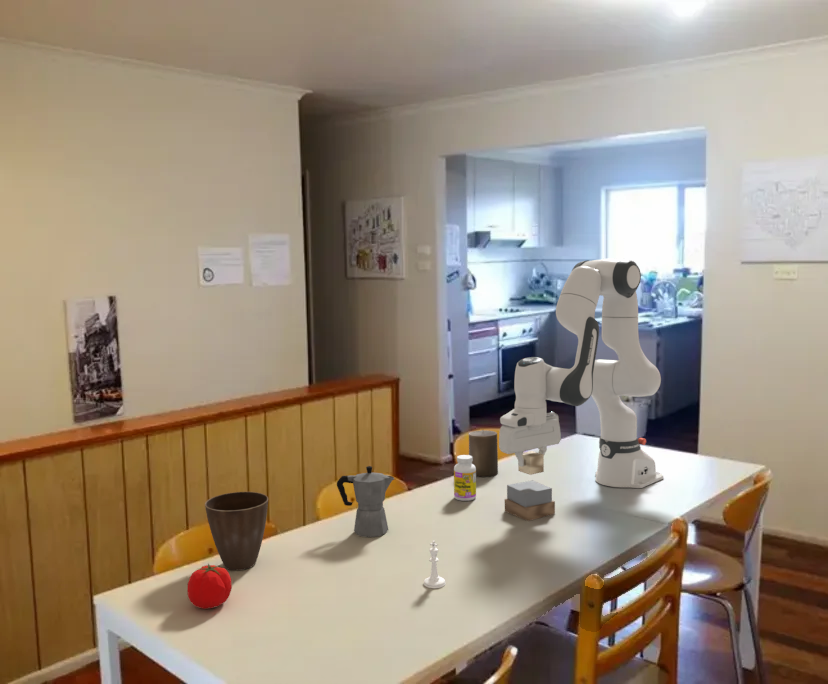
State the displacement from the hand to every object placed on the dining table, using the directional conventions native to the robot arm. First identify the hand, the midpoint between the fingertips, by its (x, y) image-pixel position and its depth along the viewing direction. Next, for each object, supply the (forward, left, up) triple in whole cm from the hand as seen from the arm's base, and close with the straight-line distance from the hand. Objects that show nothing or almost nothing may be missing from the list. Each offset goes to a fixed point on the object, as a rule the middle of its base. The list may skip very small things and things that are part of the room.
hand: (530, 464), depth 218 cm
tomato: (+94, +3, -14) cm, 95 cm away
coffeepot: (+45, -15, -14) cm, 50 cm away
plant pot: (+81, -14, -14) cm, 83 cm away
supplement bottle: (+7, -22, -14) cm, 27 cm away
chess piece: (+49, +23, -14) cm, 56 cm away
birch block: (0, 0, -2) cm, 2 cm away
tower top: (0, -1, -11) cm, 11 cm away
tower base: (0, -1, -15) cm, 15 cm away
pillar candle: (-14, -40, -14) cm, 45 cm away
